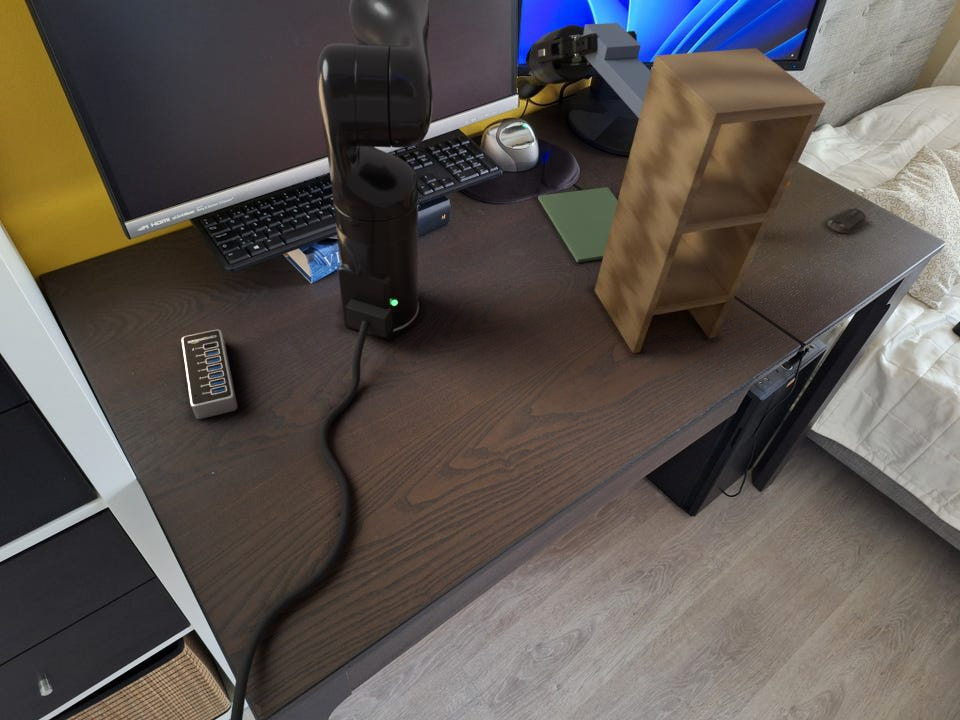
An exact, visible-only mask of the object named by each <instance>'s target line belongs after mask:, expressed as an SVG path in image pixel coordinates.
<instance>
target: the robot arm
mask: <svg viewBox="0 0 960 720" xmlns="http://www.w3.org/2000/svg"><path fill="white" fill-rule="evenodd" d="M348 19H349V25H350V29H351V33H352V34H353V37H354V38H355V40H356V41H357V43H330V44H327V45H326V46H325V47H323V49H322V51H321V52H320V54H319V57H318V60H317V66H316V76H315V77H316V94H317V95H316V97H317V102H318V109H319V116H320V121H321V127H322V131H323V137H324V142H325V149H326V155H327V162H328V168H329V170H328V171H329V177H330V185H331V192H332V201H333V211H334V218H335V231H336V239H337V247H338V256H339V264H340V266H339V267H337V274H338V281H339V288H340V289H339V292H340V298H341V299H340V300H341V307H342V315H343V325H344V327H346V328H348V329H351V330H355V331H357V332H358V335H357V338H356V342H355V347H354V350H353V355H352V363H351V369H352V370H351V373H352V374H351V383H350V386H349V388H348V391H347V392H346V394H345V396H344V397H343V398H342V399H341V400H340V401H339V402H338V403H337V404H336V405H335V406H334V407H333V408H332V409H331V410H330V411H329V412H328V413H327V415H326V416H325V417H324V419H323V420H322V422H321V424H320V427H319V430H318V437H317V438H318V446H319V450H320V452H321V454H322V457H323V458H324V459H323V460H324V461H325V462H326V464H327V465H328V467H329V469H330V470H331V471H332V474H333V475H334V477H335V479H336V481H337V483H338V486H339V492H340V519H339V526H338V530H337V532H336V533H337V534H336V537H335V539H334V541H333V544H332V546H331V548H330V550H329V552H328V554H327V556H326V558H325V560H324V561H323V562H322V564H321V565H320V566H319V568H318V569H316V571H314V572H313V574H312V575H310V576H309V577H308V578H307V579H305V580H304V581H303V582H301V583H300V584H298V585H297V586H296V587H294V588H293V589H292V590H290V591H289V592H287V593H285V595H283V596H282V597H281V598H279V599H278V600H277V601H276V602H275V603H273V605H272V606H271V607H270V608H268V610H266V612H265V613H264V615H263V616H262V617H261V618H260V620H259V622H257V625H256V626H255V628H254V629H253V631H252V633H251V635H250V637H249V639H248V642H247V644H246V646H245V647H244V648H245V649H244V652H243V653H242V657H241V660H240V662H239V667H238V669H237V675H236V679H235V684H234V690H233V696H232V703H231V704H232V705H231V712H230V718H229V719H230V720H243V718H244V711H245V702H246V695H247V688H248V682H249V677H250V671H251V668H252V664H253V661H254V658H255V654H256V652H257V650H258V647H259V645H260V643H261V641H262V638H263V637H264V636H265V633H266V632H267V630H268V628H269V627H270V625H271V624H272V622H273V621H274V620H275V618H276V617H277V616H278V615H279V614H280V613H281V612H282V611H283V610H284V609H285V608H287V607H288V606H289V605H290V604H293V602H294V601H296V600H297V599H298V598H300V597H301V596H303V595H305V593H308V591H310V590H311V589H312V588H313V587H315V586H316V585H317V584H319V582H321V581H322V580H323V579H324V578H325V576H327V574H328V573H329V572H330V571H331V569H332V568H333V566H334V564H335V563H336V562H337V559H338V558H339V556H340V554H341V552H342V549H343V547H344V545H345V542H346V539H347V535H348V532H349V528H350V523H351V493H350V492H351V491H350V487H349V483H348V480H347V478H346V475H345V474H344V472H343V470H342V468H341V466H340V464H339V463H338V462H337V460H336V459H335V457H334V456H333V453H332V452H331V449H330V447H329V444H328V443H329V442H328V432H329V429H330V426H331V425H332V423H333V421H334V420H335V419H336V418H337V417H338V416H339V415H340V414H341V413H342V412H343V411H344V410H345V409H346V408H347V407H348V405H349V404H350V403H351V402H352V400H353V399H354V398H355V397H356V395H357V392H358V389H359V387H360V382H361V359H362V354H363V350H364V346H365V342H366V339H367V338H366V337H367V335H370V336H373V337H376V338H379V339H383V340H386V341H389V340H391V338H392V337H393V336H394V335H397V334H399V333H401V332H404V331H406V330H408V328H410V327H412V326H413V324H414V323H415V322H416V321H417V319H418V316H419V313H420V312H419V311H420V303H419V302H420V301H419V183H418V177H417V174H416V172H415V171H414V169H413V167H412V166H411V165H410V164H408V162H406V160H403V159H401V158H400V157H398V156H396V155H394V154H391V153H390V152H386V151H384V150H382V149H379V148H395V149H397V148H399V149H401V148H408V147H409V148H410V147H414V146H417V145H419V144H420V143H421V142H423V141H424V139H425V138H426V136H427V134H428V132H429V129H430V126H431V123H432V118H433V117H432V116H433V108H434V107H433V104H434V96H433V81H432V73H431V65H430V58H429V57H430V56H429V48H428V43H429V41H428V40H429V27H430V26H429V0H350V2H349V8H348ZM584 28H585V27H584V26H581V25H579V24H568V25H565V26H562V27H561V28H557V29H555V30H553V31H550V32H548V33H546V34H544V35H542V36H541V37H539V38H540V39H539V40H537V41H536V42H535V43H534V44H533V45H532V47H531V48H530V50H529V52H528V54H527V58H526V64H527V67H528V70H529V75H531V76H526V77H519V76H518V78H517V88H518V94H519V98H520V100H519V101H525V100H530V99H532V98H534V97H536V96H537V95H538V94H540V93H541V92H542V91H543V90H544V89H546V87H547V86H548V85H559V84H560V85H561V84H564V83H565V84H566V83H571V82H575V81H579V80H582V79H584V78H585V77H587V75H589V74H590V73H591V71H592V70H593V68H594V67H593V66H592V65H591V63H590V62H589V61H588V60H587V59H586V58H585V57H584V55H587V54H591V53H594V52H597V49H598V39H597V38H598V36H597V33H592V34H588V35H585V36H581V35H583V33H584ZM627 32H628V33H629V34H630V35H631V36H632V37H633V38H634V39H635V40H636V41H637V42H638V34H637V33H636V31H635V30H628V31H627Z"/></svg>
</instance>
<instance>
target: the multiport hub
mask: <svg viewBox="0 0 960 720" xmlns="http://www.w3.org/2000/svg"><path fill="white" fill-rule="evenodd" d="M181 347H182V354H183V360H184V368H185V373H186V374H185V375H186V381H187V388H188V397H189V403H190V406H191V409H192V411H193V414H194V416H195V418H196V419H197V420H203V419H207V418H210V417H214V416H218V415H223V414H227V413H230V412H235V411H236V410H238V403H237V397H236V392H235V386H234V383H233V377H232V372H231V366H230V361H229V356H228V352H227V346H226V343H225V339H224V336H223V334H222V330H221V329H213V330H207V331H203V332H198V333H193V334H189V335H184V336H183V337H182V338H181Z"/></svg>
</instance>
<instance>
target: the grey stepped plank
mask: <svg viewBox="0 0 960 720" xmlns="http://www.w3.org/2000/svg"><path fill="white" fill-rule="evenodd" d="M583 28H584V33H583V35H581V36H585V35H588V34H592V33H597V36H598V38H597V39H598V49H597V52H594V53H591V54H587V55H584V57H585V58H586V59H587V60H588V61H589V62H590V63H591V65H592V66H593V68H594V69H595V71H597V73H598V74H599V75H600V76H601V77H602V78H603V79H604V81H605V82H606V83H607V84H608V85H609V86H610V88H611V89H612V90H613V91H614V92H615V93H616V94H617V95H618V97H620V99H621V100H622V101H623V102H624V103H625V104H626V106H627V107H628V108H629V109H630V110H631V112H633V114H635V116H636V117H637V118H638V119H639V117H640V113H641V109H642V106H643V102H644V98H645V94H646V90H647V86H648V83H649V79H650V75H651V71H652V70H650V69H649V68H648V67H647V66H646V65H645V64H644V63H643V61H641V60H640V59H639V54H640V50H641V44H640V43H639V42H638V40H637V41H636V40H635V39H634V38H633V37H632V36H631V35H630V34H629V33H628V31H627V30H626V29H625V28H624V27H623V26H622V25H621V24H619V22H608V23H607V22H606V23H589V24H587V23H586V24H584V27H583Z"/></svg>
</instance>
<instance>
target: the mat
mask: <svg viewBox="0 0 960 720" xmlns="http://www.w3.org/2000/svg"><path fill="white" fill-rule="evenodd" d="M537 199H538V201H539V202H540V204H541V206H542V208H543V210H544V211H545V212H546V214H547V215H548V217H549V219H550V220H551V222H552V223H553V225H554V227H555V229H556V230H557V232H558V234H559V235H560V237H561V238H562V240H563V242H564V244H565V245H566V246H567V248H568V250H569V251H570V253H571V255H572V256H573V258H574V260H575V262H576V263H577V264H578V263H585V262H591V261H596V260H597V261H599V260H603V256H604V252H605V248H606V244H607V241H608V237H609V233H610V229H611V225H612V221H613V217H614V214H615V210H616V206H617V202H618V198H616V196H615V195H614V193H613V192H612V191H611V189H610V188H609V187H608V186H605V187H598V188H597V187H596V188H590V189H581V190H574V191H565V192H558V193H549V194H542V195H538V198H537Z"/></svg>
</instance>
